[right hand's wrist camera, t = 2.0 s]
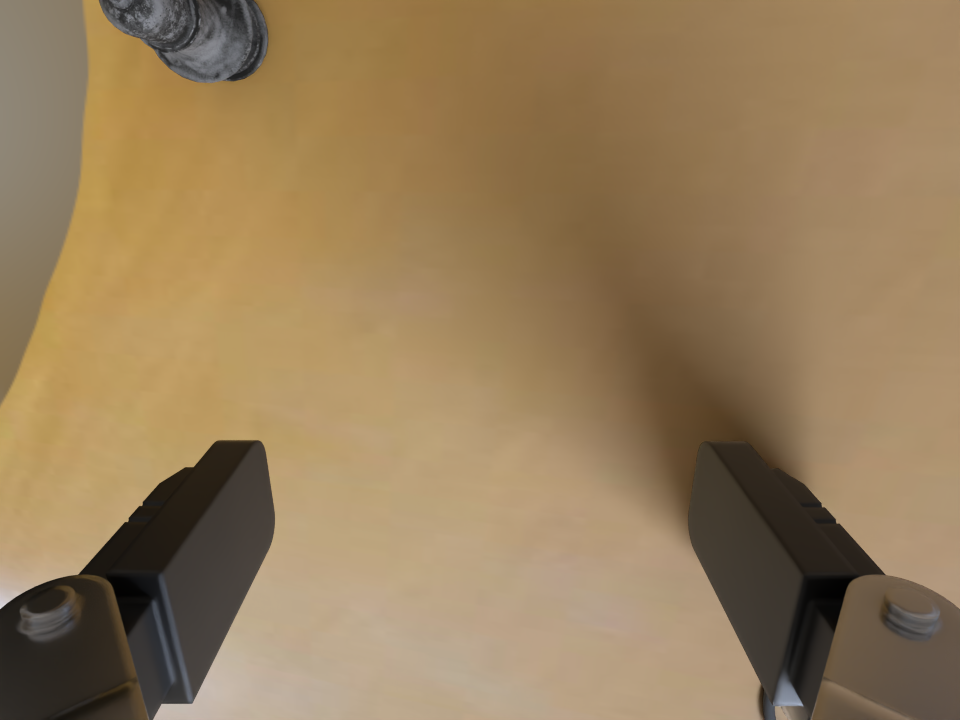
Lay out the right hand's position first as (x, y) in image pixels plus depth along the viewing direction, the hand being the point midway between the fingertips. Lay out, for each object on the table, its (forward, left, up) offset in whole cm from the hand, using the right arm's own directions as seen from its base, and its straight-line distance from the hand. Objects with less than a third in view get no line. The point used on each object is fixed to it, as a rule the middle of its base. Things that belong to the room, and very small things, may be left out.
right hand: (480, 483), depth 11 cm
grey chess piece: (+16, +10, -31) cm, 37 cm away
